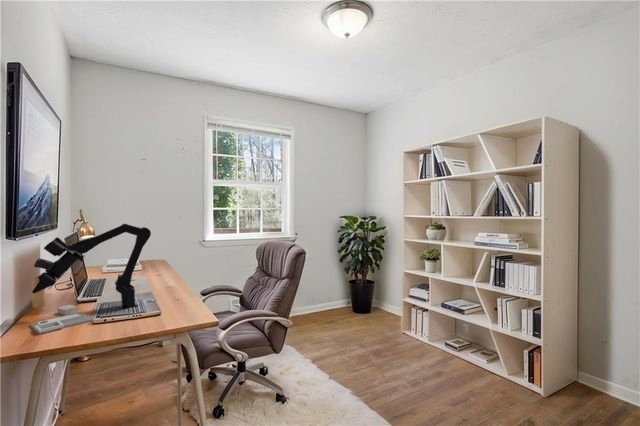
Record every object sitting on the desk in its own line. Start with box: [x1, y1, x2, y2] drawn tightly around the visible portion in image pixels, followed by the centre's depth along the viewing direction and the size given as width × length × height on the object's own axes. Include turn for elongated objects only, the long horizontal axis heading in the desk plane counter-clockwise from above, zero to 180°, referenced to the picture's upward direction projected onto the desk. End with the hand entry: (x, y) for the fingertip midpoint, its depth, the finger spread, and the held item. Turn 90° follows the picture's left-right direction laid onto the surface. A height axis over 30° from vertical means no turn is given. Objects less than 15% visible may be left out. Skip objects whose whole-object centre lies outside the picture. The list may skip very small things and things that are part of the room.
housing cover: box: [57, 304, 79, 316], centre depth 155 cm, size 7×5×2 cm
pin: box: [30, 274, 46, 309], centre depth 145 cm, size 4×4×13 cm
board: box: [30, 311, 94, 335], centre depth 140 cm, size 16×18×2 cm
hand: (34, 291), depth 145 cm, fingers closed on pin, 4 cm apart
